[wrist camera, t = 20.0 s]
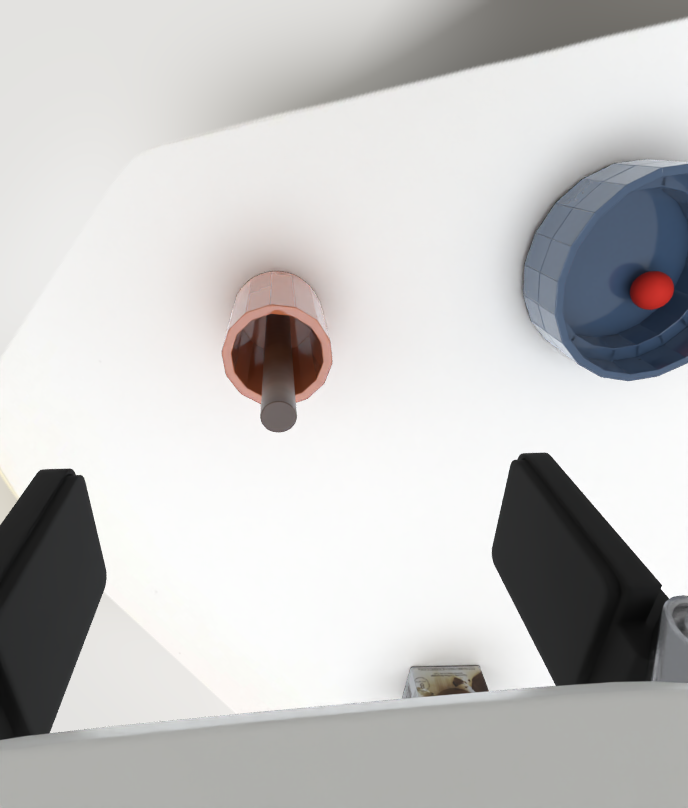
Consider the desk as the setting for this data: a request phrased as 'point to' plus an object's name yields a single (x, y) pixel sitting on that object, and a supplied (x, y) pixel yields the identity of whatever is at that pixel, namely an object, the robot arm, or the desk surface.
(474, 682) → the coffee box
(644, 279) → the ball
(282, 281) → the crock
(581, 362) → the bowl
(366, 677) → the desk surface
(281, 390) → the stick
